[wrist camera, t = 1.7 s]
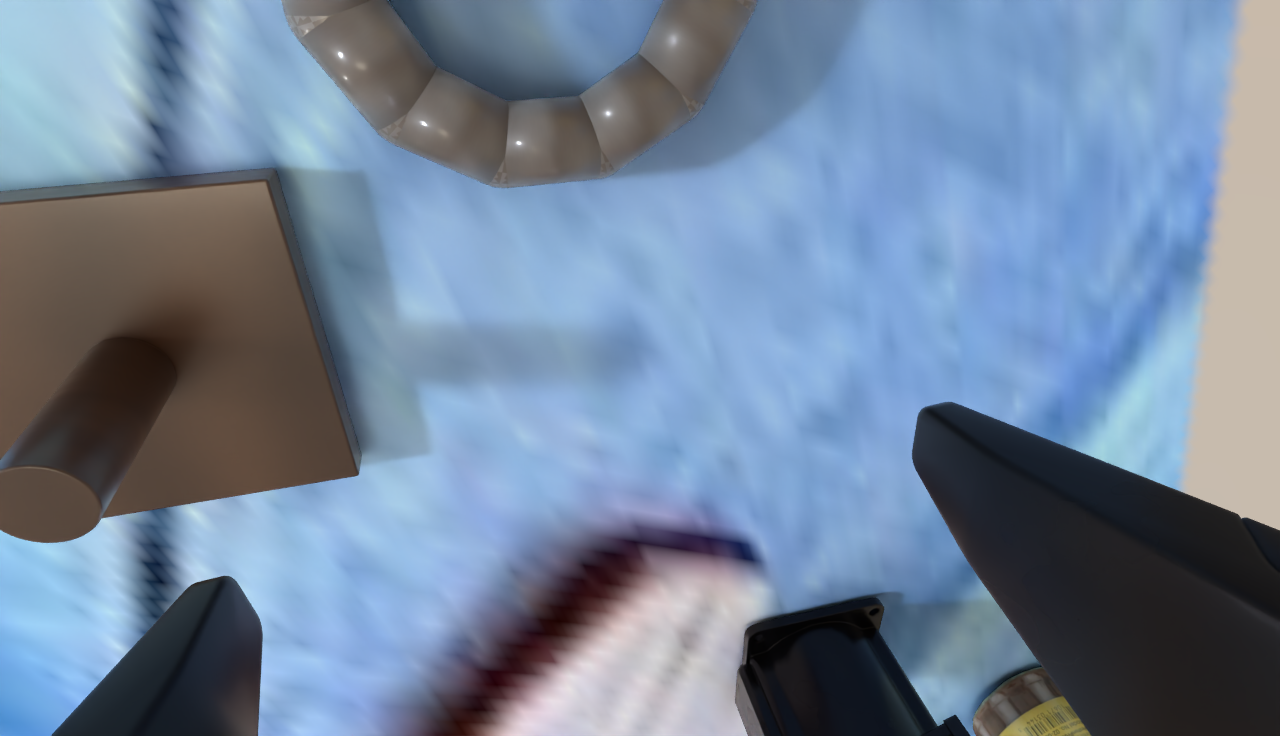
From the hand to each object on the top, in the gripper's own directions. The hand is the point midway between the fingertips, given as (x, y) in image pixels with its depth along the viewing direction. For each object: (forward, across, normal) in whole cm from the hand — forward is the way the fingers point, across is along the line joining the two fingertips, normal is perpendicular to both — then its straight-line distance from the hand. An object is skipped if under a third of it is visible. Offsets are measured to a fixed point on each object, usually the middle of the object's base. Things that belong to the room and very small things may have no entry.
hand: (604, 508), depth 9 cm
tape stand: (+12, +10, +2) cm, 16 cm away
